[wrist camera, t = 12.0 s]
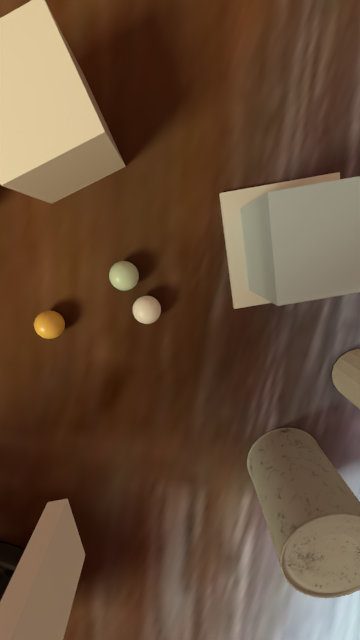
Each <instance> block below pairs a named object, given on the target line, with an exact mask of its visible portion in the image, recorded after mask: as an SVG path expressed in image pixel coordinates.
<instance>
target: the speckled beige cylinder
mask: <svg viewBox="0 0 360 640" xmlns="http://www.w3.org/2000/svg"><path fill="white" fill-rule="evenodd" d="M247 468H248V471H249V474H250V476H251V478H252V481H253V484H254V487H255V490H256V493H257V496H258V499H259V502H260V505H261V508H262V511H263V514H264V517H265V520H266V523H267V526H268V529H269V532H270V535H271V538H272V541H273V544H274V547H275V550H276V552H277V555H278V558H279V561H280V567H281V570H282V574H283V576H284V577H285V579H286V580H287V582H288V583H289V584H290V585H291V586H292V587H293V588H294V589H296V590H297V591H299V592H301V593H303V594H306V595H309V596H312V597H319V598H334V597H340V596H345V595H349V594H351V593H353V592H356V591H358V590H360V502H359V500H358V499H357V498H356V496H355V495H354V494H353V492H352V491H351V489H350V488H349V487H348V485H347V484H346V483H345V481H344V480H343V478H342V477H341V476H340V474H339V473H338V472H337V470H336V469H335V467H334V466H333V465H332V463H331V462H330V461H329V459H328V458H327V457H326V455H325V454H324V452H323V451H322V450H321V448H320V447H319V445H318V443H317V441H316V440H315V439H314V438H313V437H312V436H311V435H310V434H308V433H306V432H305V431H302V430H300V429H297V428H289V427H287V428H278V429H275V430H271V431H269V432H267V433H265V434H264V435H262V436H261V437H260V438H258V439H257V440H256V442H255V443H254V444H253V445H252V447H251V449H250V451H249V453H248V458H247Z"/></svg>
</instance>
